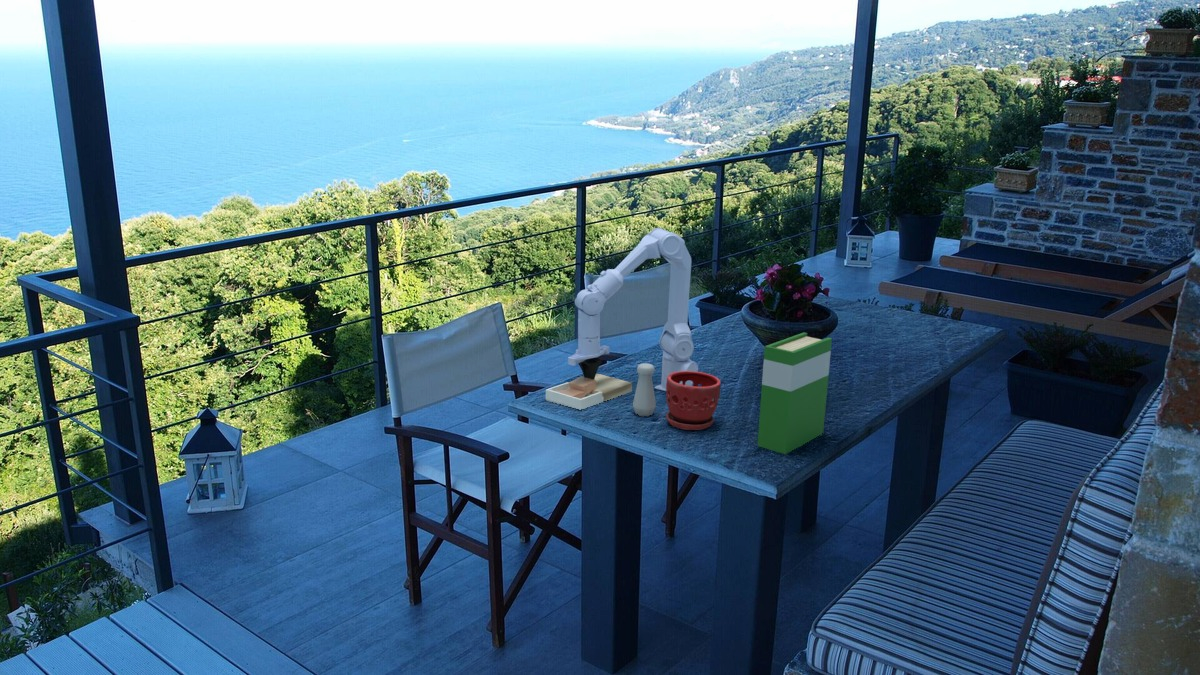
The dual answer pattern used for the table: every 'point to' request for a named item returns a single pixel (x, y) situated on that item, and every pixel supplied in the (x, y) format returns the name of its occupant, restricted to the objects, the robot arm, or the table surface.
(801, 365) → the hardback book
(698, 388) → the plant pot
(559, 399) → the box
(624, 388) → the board
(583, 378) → the tile rear
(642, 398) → the salt shaker
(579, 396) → the tile front
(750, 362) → the table surface
